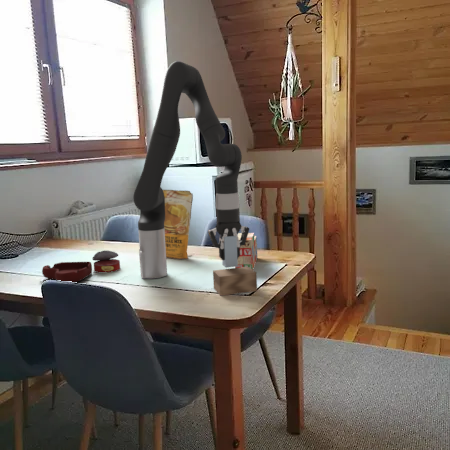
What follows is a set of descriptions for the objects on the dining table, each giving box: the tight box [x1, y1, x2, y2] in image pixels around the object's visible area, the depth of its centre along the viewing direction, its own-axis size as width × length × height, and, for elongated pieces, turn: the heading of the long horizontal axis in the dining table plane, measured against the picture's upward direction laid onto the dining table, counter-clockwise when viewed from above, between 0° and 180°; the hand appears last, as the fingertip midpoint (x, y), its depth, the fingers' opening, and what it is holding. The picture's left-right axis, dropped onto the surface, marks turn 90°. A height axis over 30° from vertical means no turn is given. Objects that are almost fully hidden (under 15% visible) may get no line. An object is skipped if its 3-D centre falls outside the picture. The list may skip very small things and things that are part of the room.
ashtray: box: [41, 261, 93, 283], centre depth 178 cm, size 18×16×5 cm
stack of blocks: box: [234, 232, 258, 270], centre depth 187 cm, size 21×6×12 cm, turn 171°
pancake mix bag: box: [162, 189, 194, 260], centre depth 204 cm, size 7×19×28 cm, turn 56°
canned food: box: [92, 250, 121, 273], centre depth 189 cm, size 11×10×10 cm
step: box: [212, 267, 258, 296], centre depth 157 cm, size 12×8×6 cm, turn 106°
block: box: [221, 236, 238, 269], centre depth 160 cm, size 4×4×10 cm
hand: (229, 258), depth 161 cm, fingers closed on block, 4 cm apart
